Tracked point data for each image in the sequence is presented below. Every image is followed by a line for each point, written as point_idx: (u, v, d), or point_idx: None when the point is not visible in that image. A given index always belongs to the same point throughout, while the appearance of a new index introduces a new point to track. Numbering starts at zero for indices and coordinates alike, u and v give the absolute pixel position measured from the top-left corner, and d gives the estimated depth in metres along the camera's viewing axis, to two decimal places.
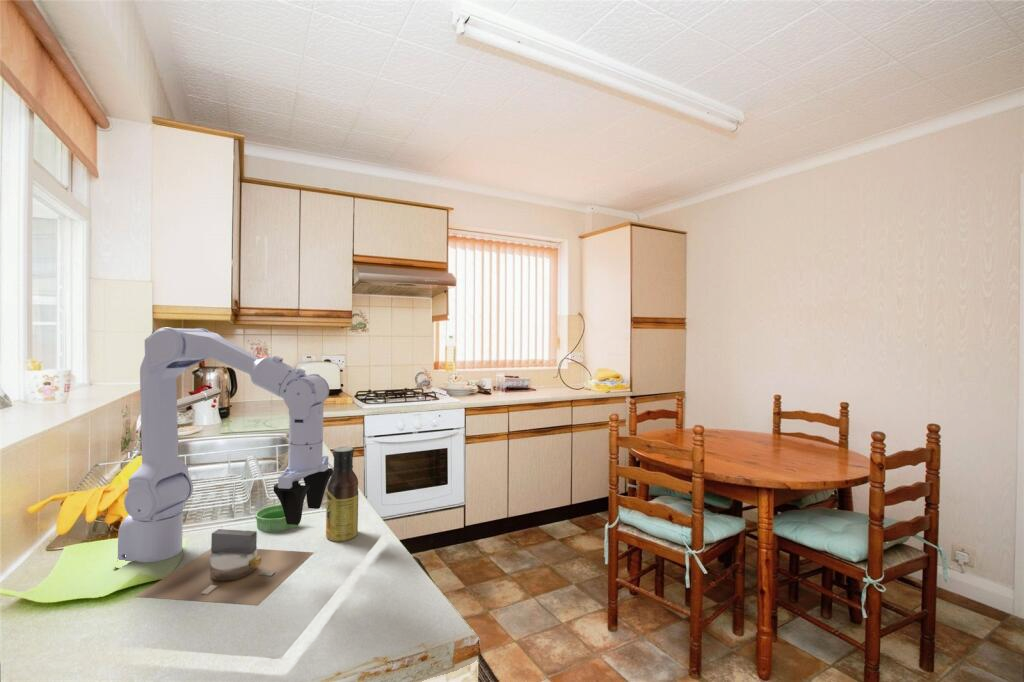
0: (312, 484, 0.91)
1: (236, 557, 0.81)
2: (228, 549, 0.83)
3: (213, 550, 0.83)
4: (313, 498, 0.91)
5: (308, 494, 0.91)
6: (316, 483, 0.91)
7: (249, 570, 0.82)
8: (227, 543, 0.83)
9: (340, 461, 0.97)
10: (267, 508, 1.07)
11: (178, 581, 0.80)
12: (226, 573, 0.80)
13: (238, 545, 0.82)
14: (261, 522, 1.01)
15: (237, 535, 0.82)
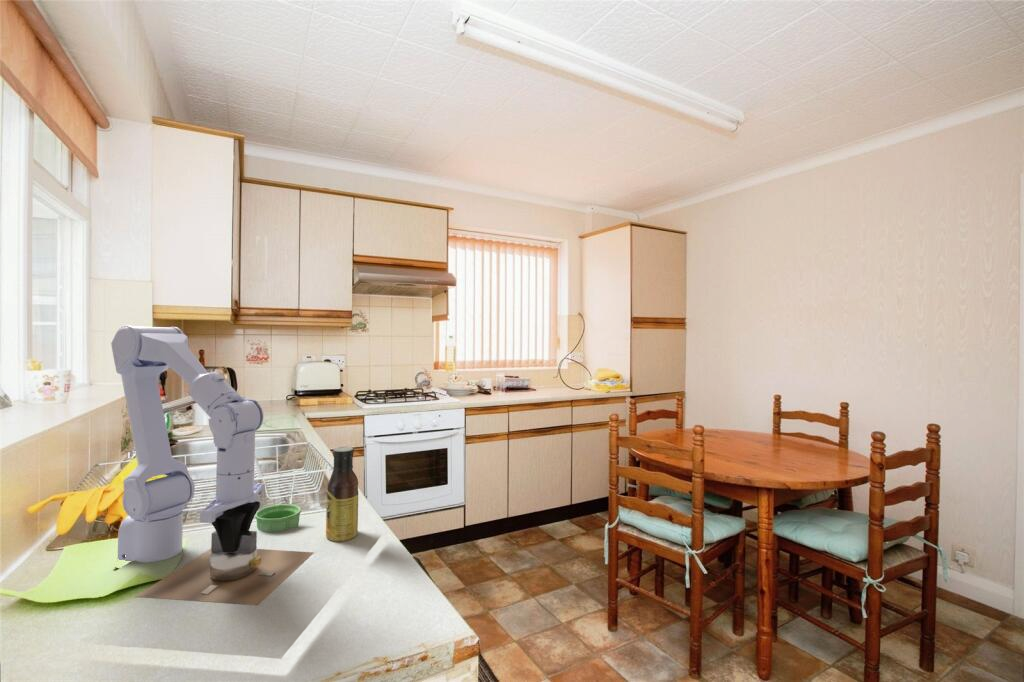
0: None
1: (236, 557, 0.81)
2: None
3: (213, 550, 0.83)
4: None
5: None
6: None
7: (249, 570, 0.82)
8: None
9: (340, 461, 0.97)
10: (267, 508, 1.07)
11: (178, 581, 0.80)
12: (226, 573, 0.80)
13: (238, 545, 0.82)
14: (261, 522, 1.01)
15: None
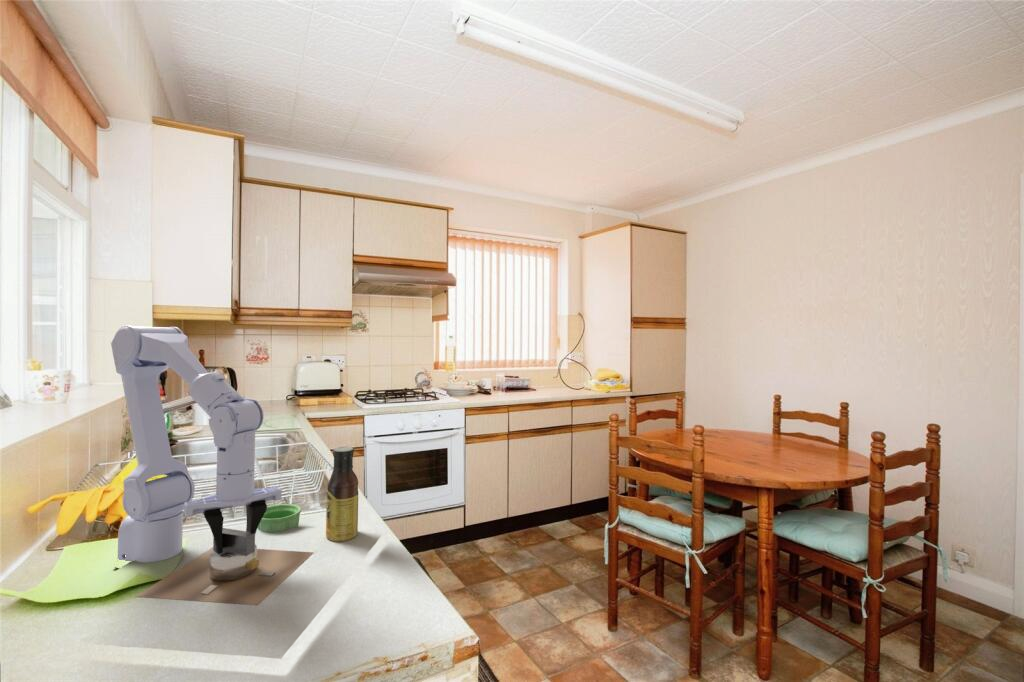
0: (248, 518, 0.85)
1: (232, 557, 0.81)
2: (228, 549, 0.83)
3: (215, 549, 0.83)
4: None
5: (246, 528, 0.86)
6: (249, 518, 0.84)
7: (246, 572, 0.82)
8: (226, 543, 0.83)
9: (340, 461, 0.97)
10: (267, 508, 1.07)
11: (178, 581, 0.80)
12: (222, 573, 0.80)
13: (236, 546, 0.82)
14: (261, 522, 1.01)
15: (235, 536, 0.82)
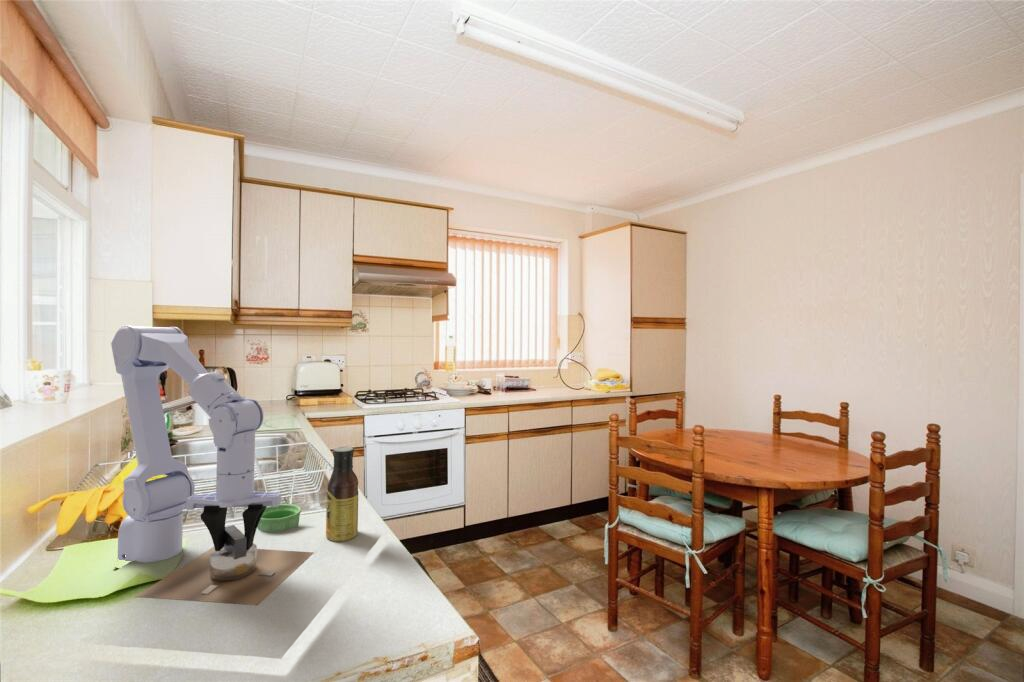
0: None
1: (222, 558, 0.80)
2: (227, 548, 0.83)
3: None
4: None
5: None
6: None
7: (234, 575, 0.81)
8: (227, 542, 0.83)
9: (340, 461, 0.97)
10: (267, 508, 1.07)
11: (178, 581, 0.80)
12: (213, 572, 0.80)
13: (230, 546, 0.82)
14: (261, 522, 1.01)
15: (230, 536, 0.82)
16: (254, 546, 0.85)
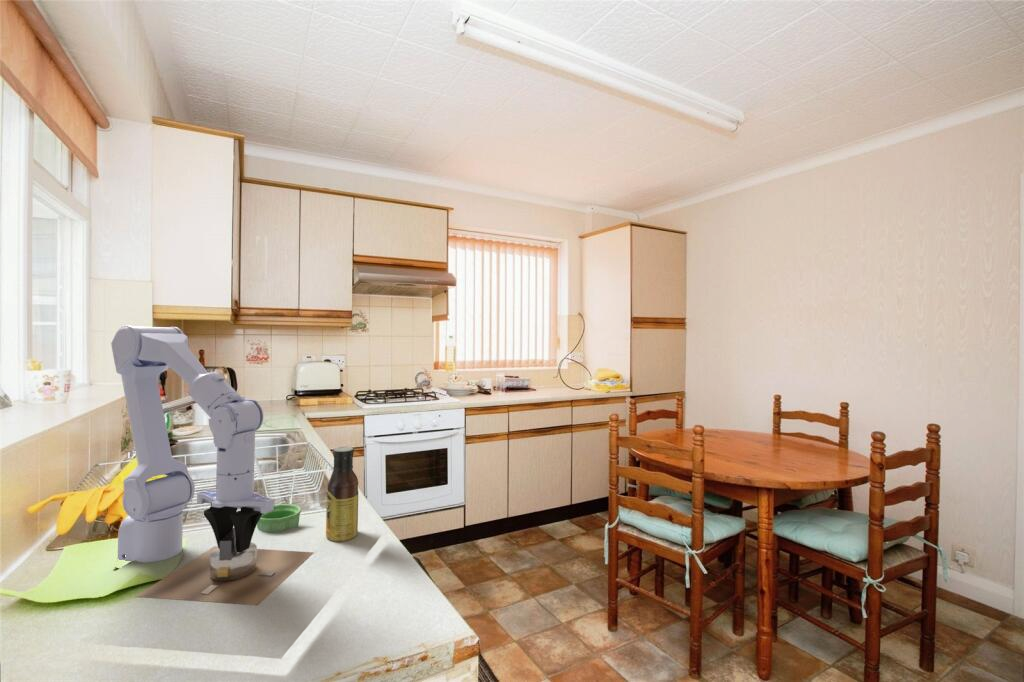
0: None
1: (214, 556, 0.81)
2: None
3: None
4: None
5: None
6: None
7: (220, 577, 0.80)
8: None
9: (340, 461, 0.97)
10: None
11: (178, 581, 0.80)
12: None
13: None
14: (261, 522, 1.01)
15: (225, 536, 0.82)
16: (251, 551, 0.83)
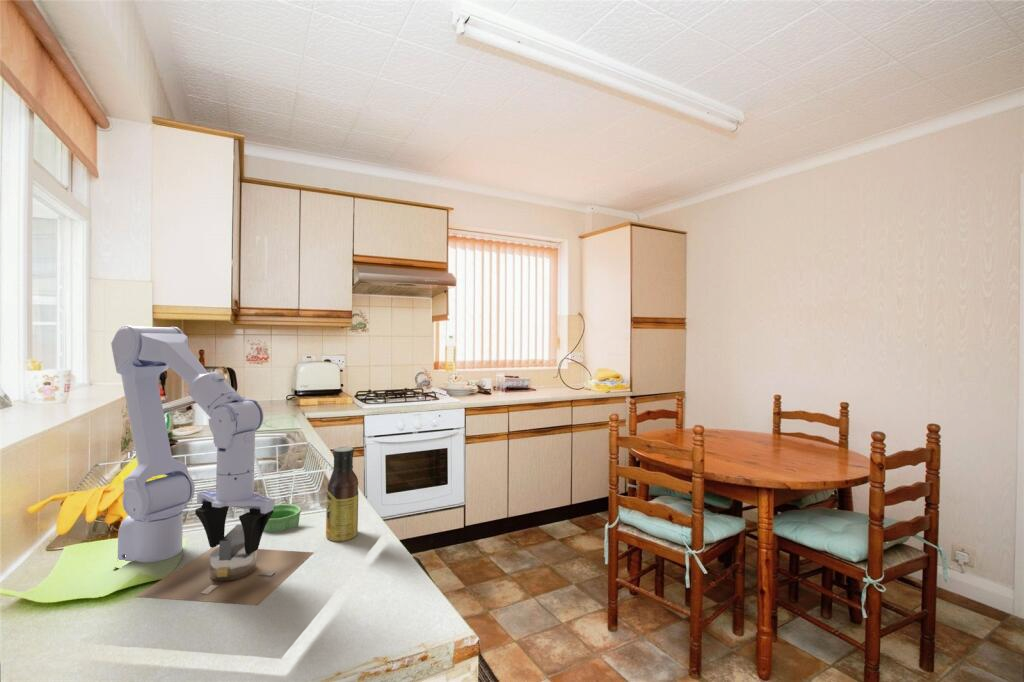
0: None
1: (214, 556, 0.81)
2: None
3: None
4: None
5: None
6: None
7: (219, 577, 0.80)
8: None
9: (340, 461, 0.97)
10: None
11: (178, 581, 0.80)
12: None
13: None
14: None
15: (225, 536, 0.82)
16: None
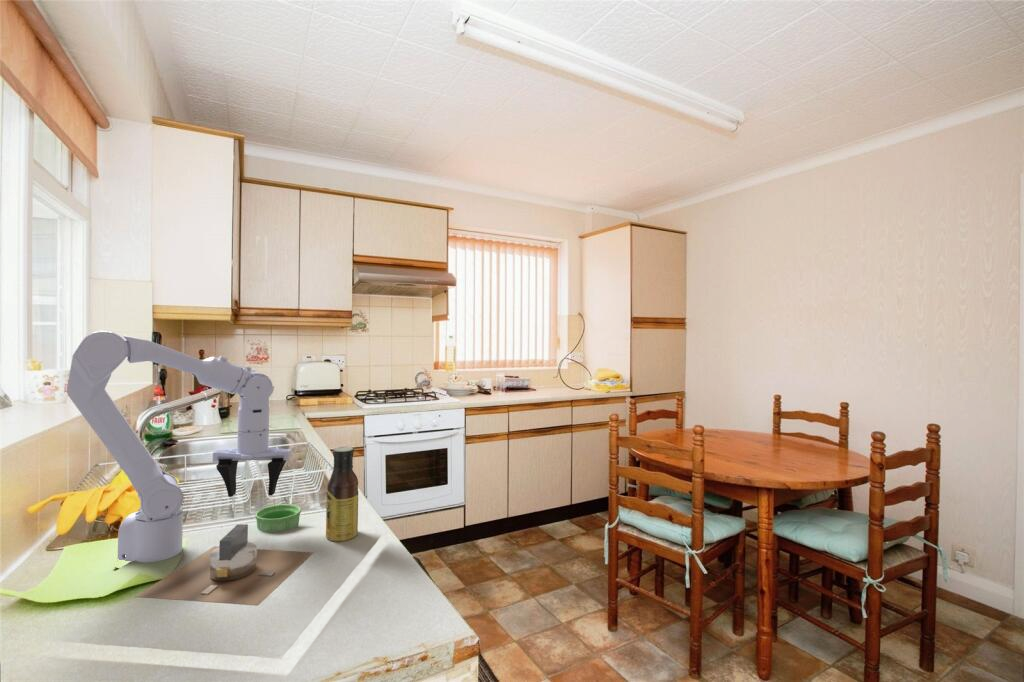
0: None
1: (214, 556, 0.81)
2: None
3: None
4: None
5: None
6: None
7: (219, 577, 0.80)
8: None
9: (340, 461, 0.97)
10: (267, 508, 1.07)
11: (178, 581, 0.80)
12: None
13: None
14: (261, 522, 1.01)
15: (225, 536, 0.82)
16: (251, 551, 0.83)
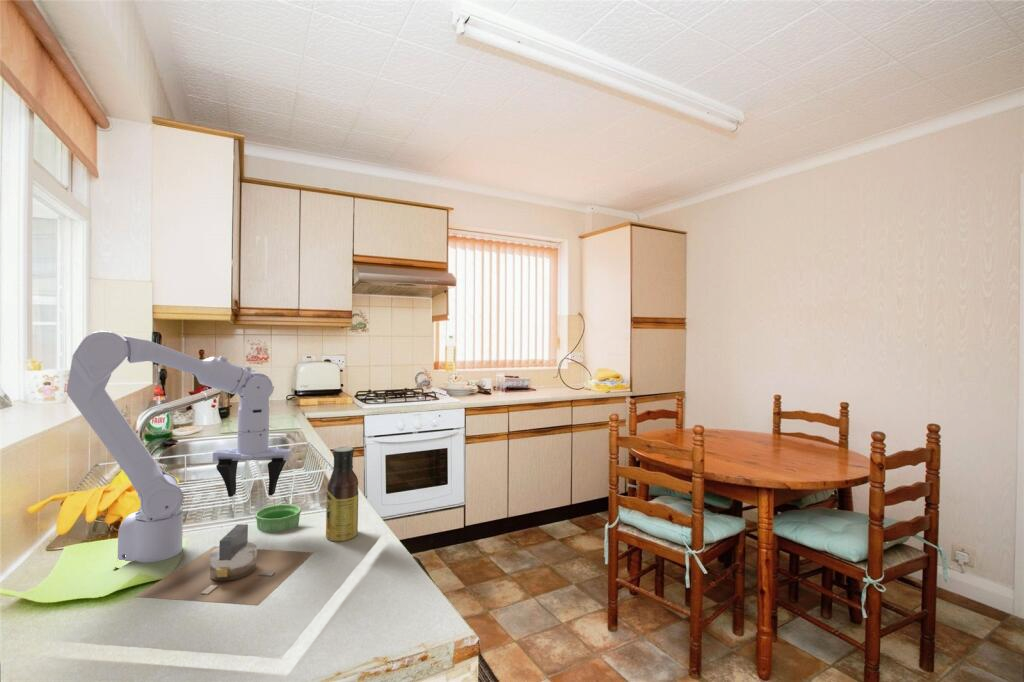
0: None
1: (214, 556, 0.81)
2: None
3: None
4: None
5: None
6: None
7: (219, 577, 0.80)
8: None
9: (340, 461, 0.97)
10: (267, 508, 1.07)
11: (178, 581, 0.80)
12: None
13: None
14: (261, 522, 1.01)
15: (225, 536, 0.82)
16: (251, 551, 0.83)
